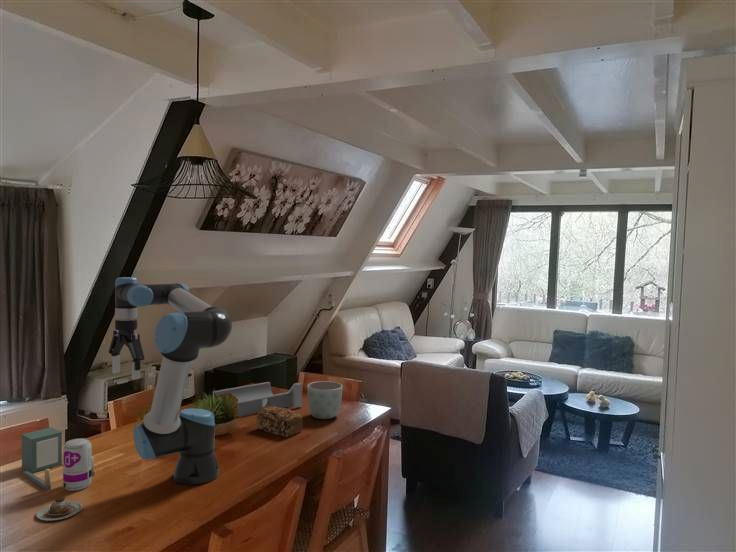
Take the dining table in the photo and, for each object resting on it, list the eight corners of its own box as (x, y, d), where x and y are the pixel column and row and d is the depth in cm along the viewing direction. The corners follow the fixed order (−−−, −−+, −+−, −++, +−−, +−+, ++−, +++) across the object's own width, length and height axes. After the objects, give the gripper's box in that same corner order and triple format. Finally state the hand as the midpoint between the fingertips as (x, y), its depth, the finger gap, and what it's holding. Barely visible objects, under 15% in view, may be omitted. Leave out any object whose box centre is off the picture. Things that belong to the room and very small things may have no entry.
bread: (255, 429, 240) (256, 407, 239) (272, 423, 249) (273, 402, 248) (287, 438, 229) (287, 415, 229) (303, 432, 238) (304, 409, 238)
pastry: (71, 523, 156) (71, 508, 156) (27, 524, 155) (27, 508, 155) (88, 504, 168) (88, 489, 168) (48, 504, 167) (48, 490, 167)
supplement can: (79, 493, 175) (79, 447, 174) (57, 490, 176) (57, 444, 176) (96, 482, 183) (96, 438, 182) (75, 479, 184) (75, 436, 183)
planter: (348, 415, 263) (349, 384, 262) (327, 424, 249) (328, 392, 248) (321, 409, 272) (321, 379, 271) (299, 417, 258) (300, 386, 257)
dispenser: (94, 475, 188) (94, 441, 188) (46, 491, 175) (46, 454, 175) (59, 456, 203) (59, 425, 203) (12, 469, 191) (12, 436, 190)
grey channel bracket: (267, 394, 297) (268, 372, 296) (302, 408, 274) (302, 384, 273) (212, 405, 275) (212, 381, 274) (244, 421, 251) (244, 395, 251)
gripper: (154, 321, 195) (154, 379, 197) (118, 315, 210) (117, 369, 211) (135, 323, 189) (135, 383, 190) (98, 316, 204) (98, 372, 205)
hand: (126, 375), depth 201 cm, fingers open, 13 cm apart
